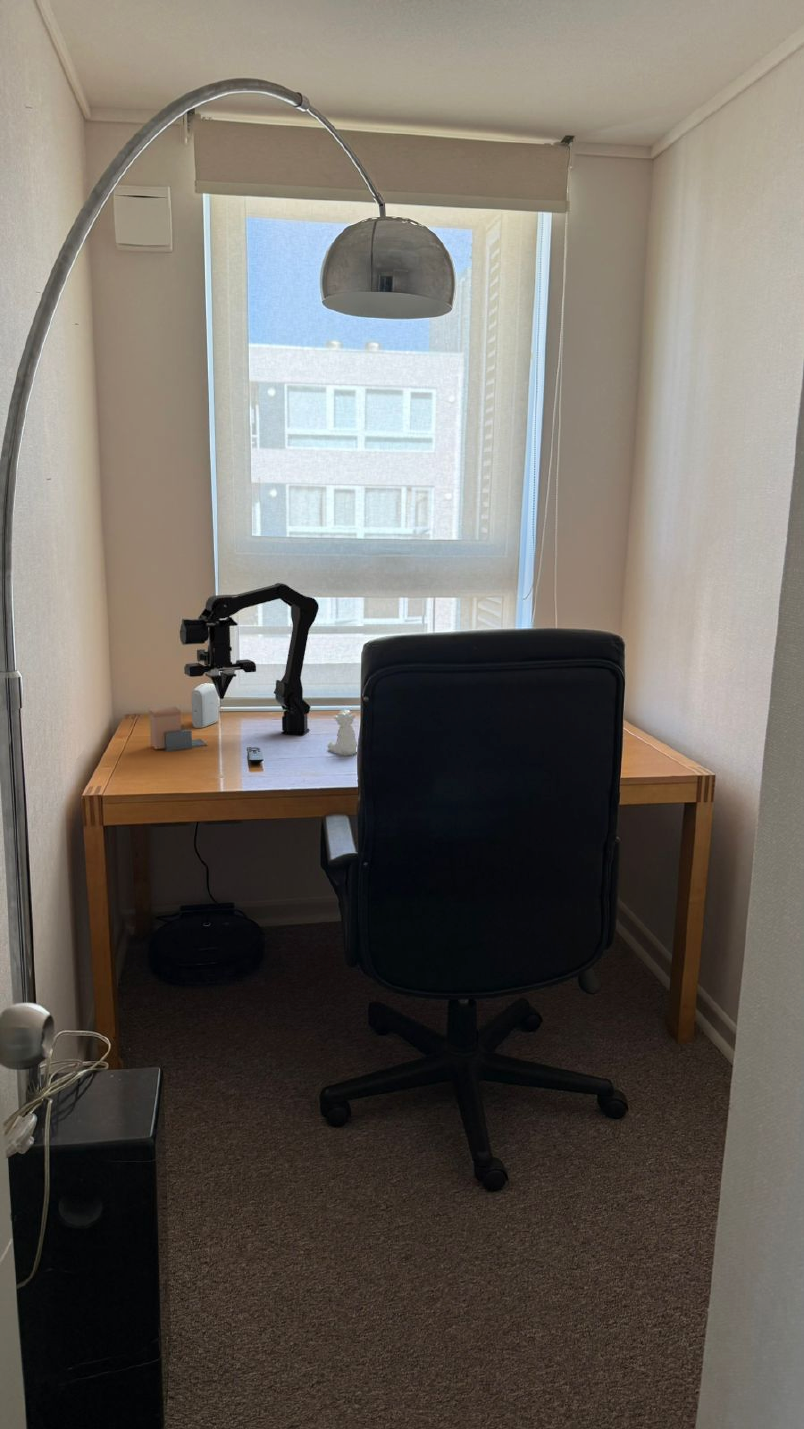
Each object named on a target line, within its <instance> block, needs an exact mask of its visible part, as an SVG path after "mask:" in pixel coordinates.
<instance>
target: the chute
mask: <svg viewBox="0 0 804 1429" xmlns="http://www.w3.org/2000/svg"><path fill="white" fill-rule="evenodd" d="M192 731H193V730H192V729H184V724H183V723H181V731H172V732H164V735H165V748H162V750H164V751H165V752H166V751H167V752H173V751H182V750H192V749H193V748H199V747H206V746H205V745H207V746H208V744H207V743H206V741H204V740H202V739H200V738H199V739H198V738H196V739H193V737H192V736H193V734H192V733H193V732H192ZM197 746H198V747H197Z"/></svg>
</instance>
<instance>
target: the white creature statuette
mask: <svg viewBox="0 0 804 1429" xmlns="http://www.w3.org/2000/svg"><path fill="white" fill-rule="evenodd" d="M356 715H357V714H356V713H352V712H351V710H349V709H343V710H342V709H341V710H340V711H338V713H337V714H336V715H333V717H334V720H335V721H336V722H337V725H338V726H339V728H338V730H337V734H336V736H337V738H336V741H334V740H333V741H331V742H329V743H328V744H327V750H328V751H329V752H331V753H334V754H336V755H339V756H345V757H348V756H347V755H349V756H354V755H356V747H357V741H358V740H356V733H355V730H354V727H353V726H352V724H353V723H354V719H355V718H356ZM353 754H354V755H353Z"/></svg>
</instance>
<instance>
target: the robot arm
mask: <svg viewBox="0 0 804 1429" xmlns="http://www.w3.org/2000/svg"><path fill="white" fill-rule="evenodd" d="M276 600H281V601H282V602H283V603H285V604H286V605H287V606H289V607H290V618H291V622H292V623H291V624H292V630H291V636H290V642H289V647H288V654H287V659H286V666H285V671H284V675H283V677H282V678H281V679H280V680H279V679H276V680H275V688H274V691H273V694H274V695H275V701H276V702H277V703H278V704H279V705H280V706H281V710H283V715H282V717H281V730H282V732H281V734H282V735H294V736H295V735H296V736H304V735H305V734H306V733H308V732H310V728H308V715H309V713H310V710H311V706H310V705H309V704H308V702H306V701H305V700H304V699H303V694H304V693H303V692H304V690H303V685H302V678H301V677H302V670H303V666H304V660H305V655H306V650H307V649H306V648H307V643H308V637H309V631H310V628H311V627H312V625H313V624H314V622H315V620H316V617H317V615H318V613H319V609H320V608H319V603H318V601H317V599H315V598H314V597H311V596H308V595H303V594H301V593H300V592H298V591H296V590H294V589H293V588H292V587H290V586H289V585H287V584H285V583H282V582H276V583H275V584H272V585H268V586H264V587H261V588H256V589H253V590H250V591H245V592H241V593H238V594H219V595H217V594H216V595H212V596H209V597H208V598H207V600H206V602H205V608H204V609H203V610H202V612H201V613H200V615H199V616H198V618H197V619H195V618H193V619H189V618H183V619H181V624H180V629H179V639H180V642H181V645H183V646H187V645H203V644H205V643H206V641H208V645H207V651H205V649H197V650H196V661H197V662H193V663H192V662H191V663H186V664H185V665H184V667H183V668H184V670H183V671H184V674H185V675H187V676H188V677H191V678H195V677H202V676H204V675H205V676H206V677H207V678H209V679H211V681H212V684H214V685H215V688H216V691H217V693H218V699H219V700H224V699H225V696H226V692H227V691H228V689H229V686H230V684H231V682H232V680H233V678H234V677H237V673H235V671H241V670H242V671H243V672H244V673H255V672H257V664H256V662H255V661H254V660H252V659H251V660H250V659H248V658H247V659H236V661H235V663H233V661H232V657H231V656H232V654H231V652H232V651H233V647H232V646H231V627H236V626H238V622H236V621H235V619H233V617H232V616H233V615H235V614H237V613H239V612H240V611H241V610H243V609H247V608H249V607H254V606H256V605H261V604H266V603H268V602H272V601H273V602H274V601H276ZM202 662H203V663H204V664H201V663H202Z"/></svg>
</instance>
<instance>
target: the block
mask: <svg viewBox="0 0 804 1429" xmlns="http://www.w3.org/2000/svg"><path fill="white" fill-rule="evenodd" d="M148 714H149V730H150V731H149V732H150V733H149V734H150V745H151V746H152V747H153V748H154V749H155V750H159V749H163V748H165V735H164V732H172V731H181V724H182V719H181V714H182V713H181V709H180V708H178V707H177V706H164V707H155V708H149V710H148Z"/></svg>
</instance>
